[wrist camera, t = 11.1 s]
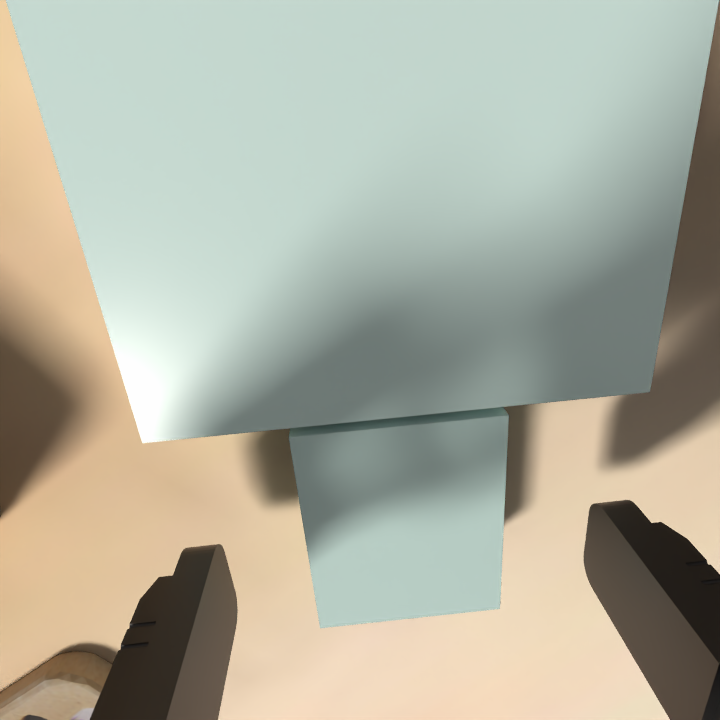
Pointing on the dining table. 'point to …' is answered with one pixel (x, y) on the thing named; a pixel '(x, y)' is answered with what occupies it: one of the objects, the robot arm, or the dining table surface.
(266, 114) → the lid
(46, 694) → the pile of dominoes
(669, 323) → the dining table surface
